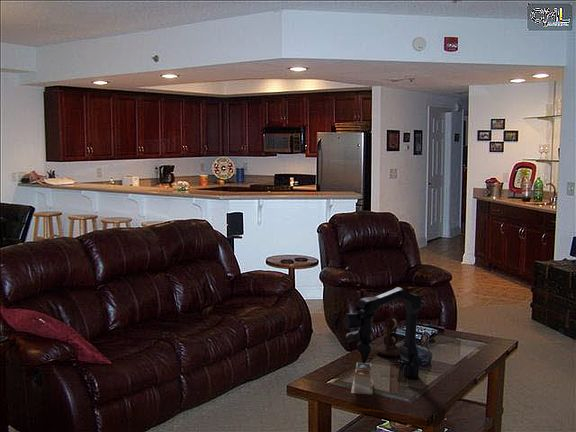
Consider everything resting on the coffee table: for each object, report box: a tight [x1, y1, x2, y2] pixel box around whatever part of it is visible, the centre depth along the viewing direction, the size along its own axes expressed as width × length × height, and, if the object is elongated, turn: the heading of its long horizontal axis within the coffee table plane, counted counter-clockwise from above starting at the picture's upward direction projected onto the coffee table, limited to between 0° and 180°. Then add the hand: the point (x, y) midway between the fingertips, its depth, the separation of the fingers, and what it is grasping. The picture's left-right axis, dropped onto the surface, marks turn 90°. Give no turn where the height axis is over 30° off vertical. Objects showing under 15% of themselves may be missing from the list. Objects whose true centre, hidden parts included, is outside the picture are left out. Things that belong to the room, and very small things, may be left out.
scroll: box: [375, 314, 400, 359], centre depth 337 cm, size 15×15×20 cm
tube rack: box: [350, 362, 374, 395], centre depth 289 cm, size 18×9×9 cm, turn 171°
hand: (364, 360), depth 293 cm, fingers open, 7 cm apart
